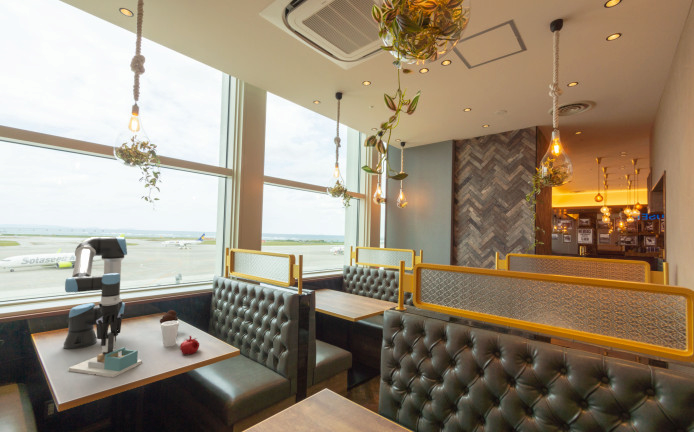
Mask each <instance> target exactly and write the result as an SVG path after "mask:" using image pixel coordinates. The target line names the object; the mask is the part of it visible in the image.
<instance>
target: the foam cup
mask: <svg viewBox="0 0 694 432" xmlns="http://www.w3.org/2000/svg"><path fill="white" fill-rule="evenodd" d="M179 327H180V321H178V320H177V321H167V322H163V323H162V324H161V323H160V329H161V337H162V345H163V347H165V348H166V347H172V346H175V345H176V341H177V336H178V331H179Z"/></svg>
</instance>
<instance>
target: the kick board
mask: <svg viewBox="0 0 694 432" xmlns="http://www.w3.org/2000/svg"><path fill="white" fill-rule="evenodd" d="M121 356H122V354H121V355H120V354H118V357H121ZM142 363H143V359H137V363H135V364H133V365H131V366H129V367H127V368H125V369H123V370H121V371H114V370H106V369H104V363H102V362H97V356H95V357H92V358H89V359H87V360H85V361H82V362H79V363H78V364H75V365H72V366H70V367H68V372H73V373H74V372H75V373H80V374H81V373H82V374H87V373H88V374H87V375H94V374H96V375H95V376H100V375H102V376H101V377H106V378H107V377H108V378H109V377H110V378H114V377H117V376H119V375H121V374H123V373H124V372H127V371H129V370H131V369H134V368H136V367H137V366H139V365H141V364H142Z"/></svg>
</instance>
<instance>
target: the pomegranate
mask: <svg viewBox="0 0 694 432" xmlns="http://www.w3.org/2000/svg"><path fill="white" fill-rule="evenodd" d="M199 348H200V342H198V337H197V338H196V337H195V338H193V337H192V335H189V338H186V339H183V341H182V342H181V343H180V347H179V349H180V352H181V354H183V355H193V354H195V353H196V352H197V351H198V350H199Z"/></svg>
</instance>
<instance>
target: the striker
mask: <svg viewBox="0 0 694 432" xmlns="http://www.w3.org/2000/svg"><path fill="white" fill-rule="evenodd" d="M107 339H108V352H101V353H99V354H97V355H96V357H97V362H102V363H105V354H108V353H110V352H113V351H114V349H113V344H114V333H111V331H110V332H109V331H108V333H107ZM118 355H119V352H117V353H115V354H112V355H110V356H111V357H118Z"/></svg>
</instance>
